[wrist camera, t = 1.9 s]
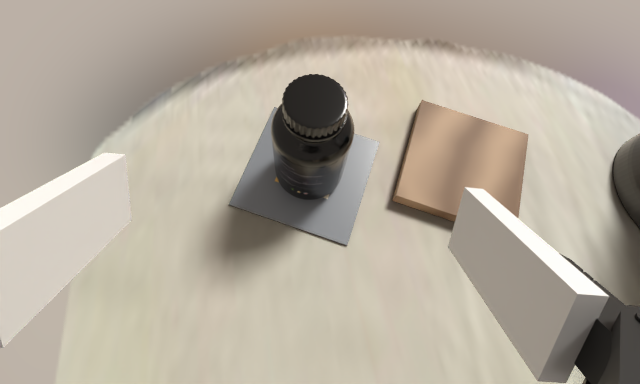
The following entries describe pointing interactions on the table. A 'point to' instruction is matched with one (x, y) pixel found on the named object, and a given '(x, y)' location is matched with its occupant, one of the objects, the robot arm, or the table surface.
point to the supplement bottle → (311, 136)
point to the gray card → (308, 215)
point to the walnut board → (459, 162)
